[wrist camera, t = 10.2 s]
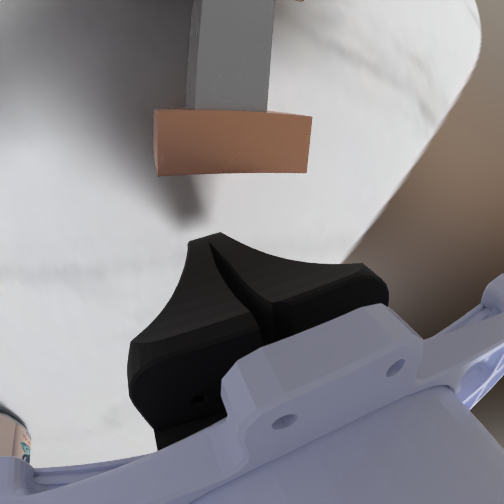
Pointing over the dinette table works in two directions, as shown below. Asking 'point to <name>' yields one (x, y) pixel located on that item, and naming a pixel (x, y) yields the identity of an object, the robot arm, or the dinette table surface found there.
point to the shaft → (229, 100)
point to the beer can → (14, 438)
